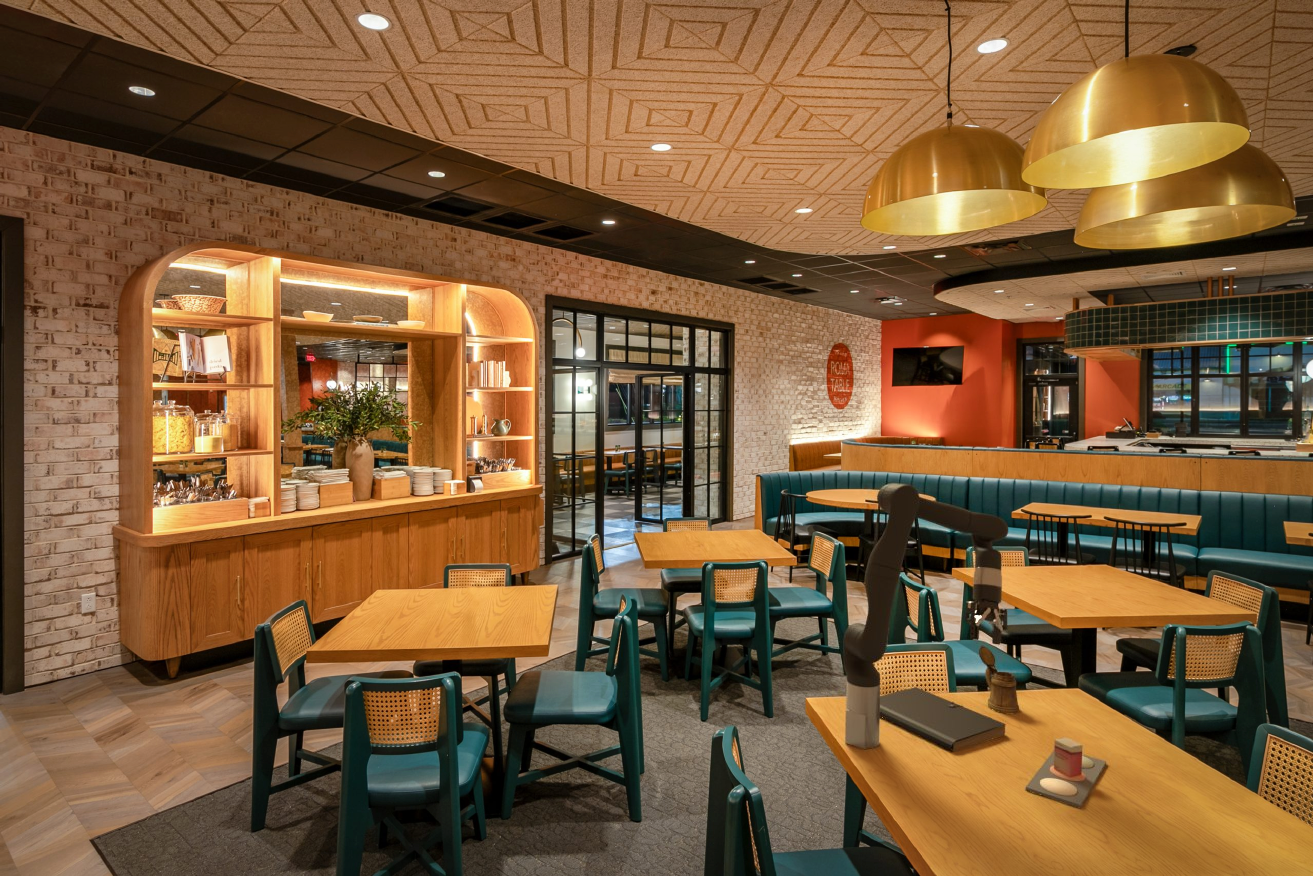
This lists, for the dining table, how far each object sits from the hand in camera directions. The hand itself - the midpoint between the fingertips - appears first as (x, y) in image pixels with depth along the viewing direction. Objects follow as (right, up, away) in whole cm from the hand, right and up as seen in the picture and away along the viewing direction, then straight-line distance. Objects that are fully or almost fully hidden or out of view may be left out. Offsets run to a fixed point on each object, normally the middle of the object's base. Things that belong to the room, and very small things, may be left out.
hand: (985, 642), depth 199 cm
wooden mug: (+17, -29, +28) cm, 43 cm away
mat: (+12, -29, -19) cm, 37 cm away
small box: (+13, -29, -18) cm, 36 cm away
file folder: (-10, -29, +15) cm, 34 cm away
